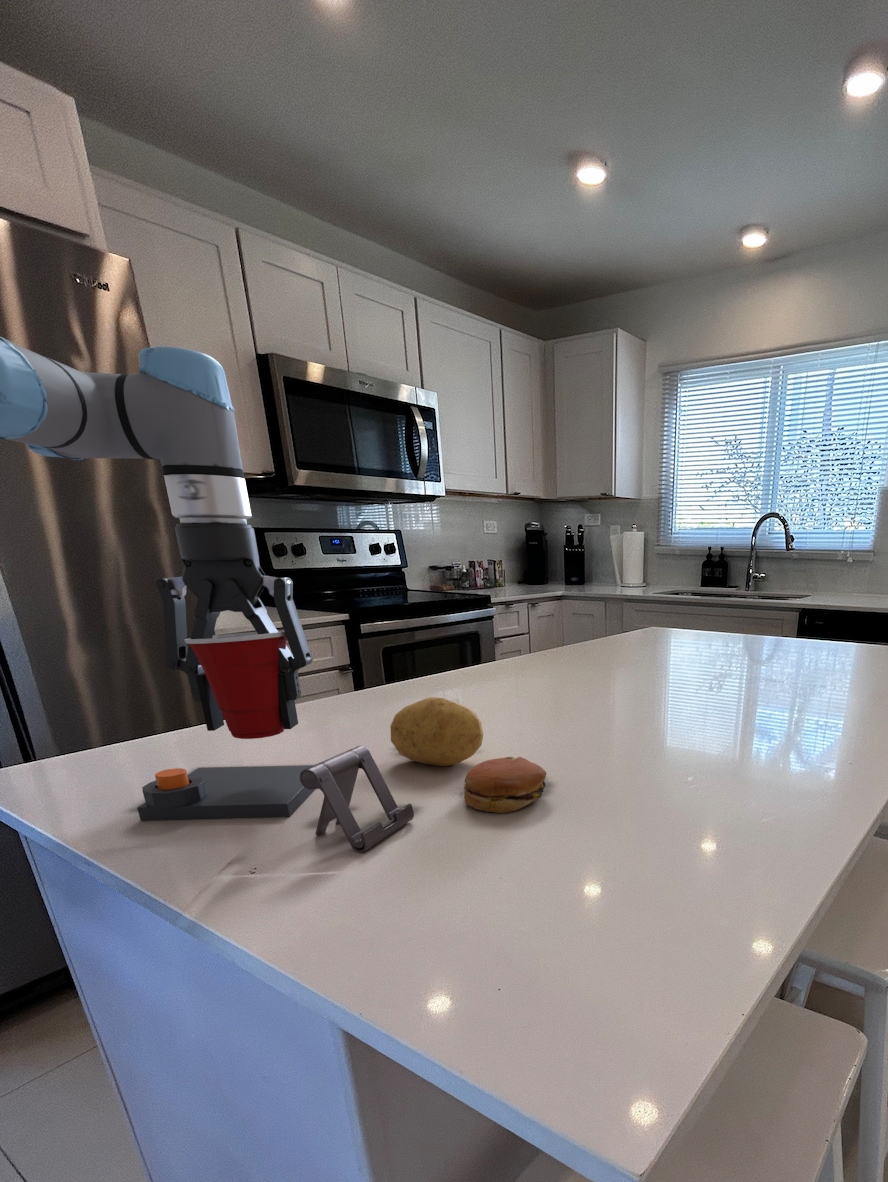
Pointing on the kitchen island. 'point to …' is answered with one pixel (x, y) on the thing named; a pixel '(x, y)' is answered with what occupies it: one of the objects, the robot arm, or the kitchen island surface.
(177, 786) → the button
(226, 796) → the scale
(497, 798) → the burger
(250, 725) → the plastic cup
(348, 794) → the tablet stand
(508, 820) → the kitchen island surface
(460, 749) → the potato
